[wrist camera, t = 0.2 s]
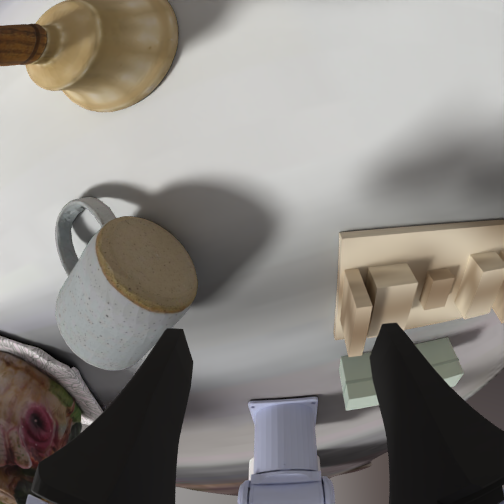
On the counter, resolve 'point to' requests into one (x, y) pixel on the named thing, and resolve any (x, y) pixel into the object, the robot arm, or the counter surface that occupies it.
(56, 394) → the cookie jar
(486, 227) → the display stand
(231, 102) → the counter surface
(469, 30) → the counter surface
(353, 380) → the glasses case
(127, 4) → the hand bell
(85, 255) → the ceramic mug
